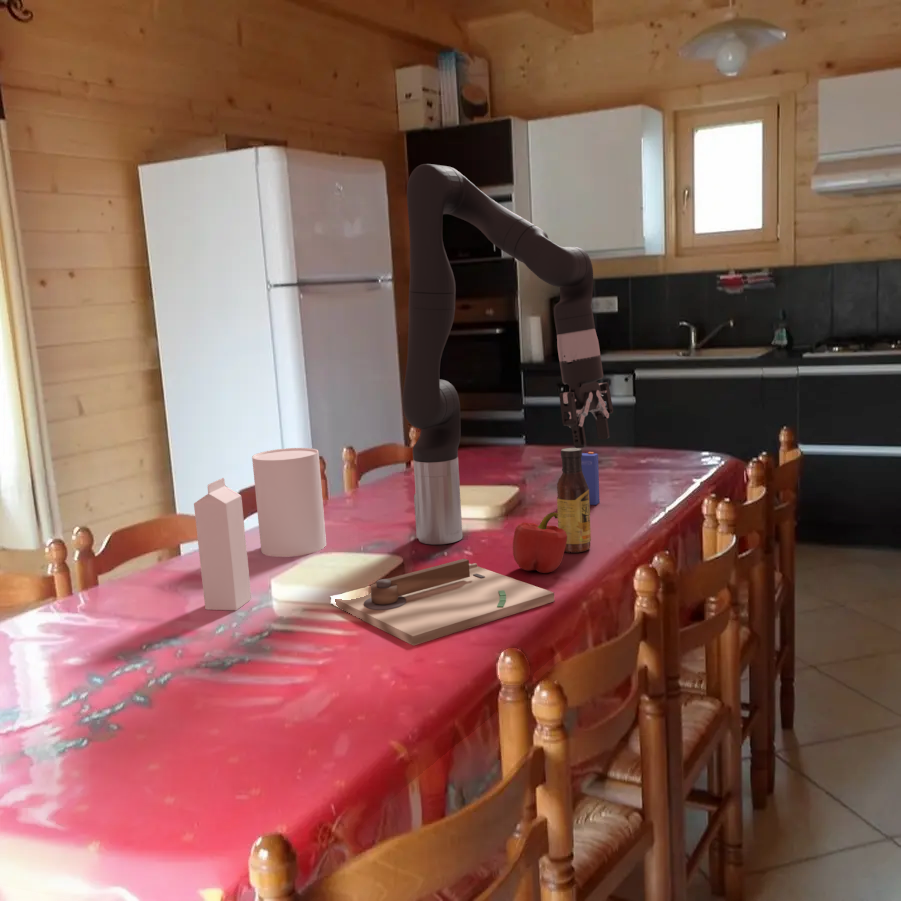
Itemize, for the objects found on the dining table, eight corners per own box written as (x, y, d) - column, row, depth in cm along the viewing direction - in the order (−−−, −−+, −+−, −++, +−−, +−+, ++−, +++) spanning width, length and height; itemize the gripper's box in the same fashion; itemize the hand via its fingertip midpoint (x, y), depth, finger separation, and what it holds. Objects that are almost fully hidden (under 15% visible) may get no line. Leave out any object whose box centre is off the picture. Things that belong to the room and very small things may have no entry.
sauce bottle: (590, 554, 187) (586, 452, 183) (557, 554, 188) (553, 453, 184) (592, 544, 193) (588, 446, 189) (560, 544, 194) (556, 446, 191)
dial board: (330, 604, 167) (329, 594, 166) (462, 568, 182) (461, 559, 182) (413, 645, 146) (412, 634, 145) (554, 601, 161) (554, 591, 161)
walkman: (599, 502, 227) (598, 452, 225) (595, 505, 225) (594, 454, 222) (567, 500, 231) (565, 451, 228) (563, 503, 228) (561, 453, 226)
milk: (205, 610, 168) (190, 485, 164) (221, 598, 173) (207, 477, 170) (237, 610, 166) (223, 484, 162) (252, 598, 172) (239, 477, 168)
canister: (339, 544, 204) (331, 450, 201) (288, 560, 195) (279, 462, 191) (299, 535, 213) (291, 446, 210) (248, 550, 204) (238, 456, 200)
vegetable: (539, 557, 186) (536, 507, 185) (582, 566, 179) (580, 514, 177) (500, 572, 179) (497, 519, 177) (543, 582, 172) (541, 527, 170)
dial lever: (366, 599, 162) (365, 581, 161) (469, 571, 173) (468, 554, 173) (380, 606, 158) (378, 587, 157) (484, 577, 170) (483, 559, 169)
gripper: (582, 354, 186) (594, 437, 188) (541, 363, 175) (554, 451, 177) (616, 349, 182) (628, 435, 183) (576, 358, 171) (590, 449, 172)
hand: (592, 443), depth 180 cm, fingers open, 8 cm apart
